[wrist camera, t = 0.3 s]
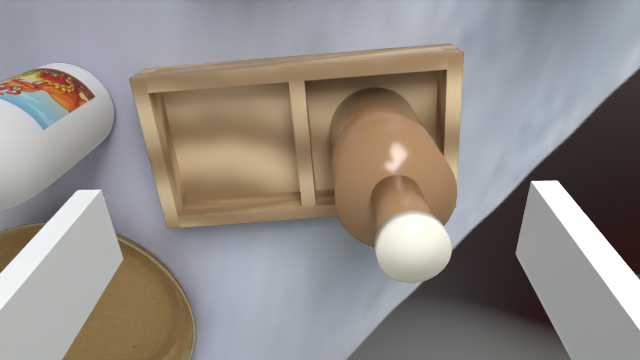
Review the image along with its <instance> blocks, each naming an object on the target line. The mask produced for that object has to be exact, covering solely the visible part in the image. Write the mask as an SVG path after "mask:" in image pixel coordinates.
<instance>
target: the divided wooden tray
mask: <svg viewBox="0 0 640 360" xmlns="http://www.w3.org/2000/svg"><path fill="white" fill-rule="evenodd" d="M463 58H464V52H463V51H461V50H460V49H458V48H456V47H455V46H453V45H451V44H440V45H427V46H415V47H403V48H390V49H378V50H366V51H353V52H341V53H328V54H316V55H304V56H291V57H279V58H267V59H254V60H242V61H230V62H217V63H205V64H192V65H180V66H168V67H155V68H146V69H144V70H143V71H141V72H140V73H138V74H136V75H135V76H133V77H132V78H130V79H129V80H130V84H131V88H132V92H133V96H134V100H135V104H136V108H137V112H138V116H139V120H140V124H141V128H142V132H143V136H144V140H145V143H146V147H147V151H148V155H149V159H150V163H151V167H152V171H153V175H154V179H155V183H156V187H157V191H158V195H159V199H160V203H161V207H162V211H163V215H164V219H165V223H166V227H167V229H168V228H182V227H196V226H210V225H224V224H238V223H252V222H266V221H280V220H294V219H308V218H322V217H336V216H338V213H337V210H336V204H335V192H334V179H333V166H332V153H331V140H330V124H331V120H332V117H333V114H334V112H335V110H336V109H337V107H338V106H339V104H340V103H341V102H342V101H343V100H344V99H345V98H346V97H348V96H349V95H351V94H352V93H354V92H356V91H359V90H361V89H365V88H371V87H380V88H386V89H390V90H392V91H395V92H396V93H398V94H400V95H401V96H402V97H404V98H405V99H406V100H407V102H408V103H409V104H410V106H411V107H412V109H413V110H414V112H415V113H416V115H417V116H418V118H419V119H420V121H421V122H422V124H423V126H424V127H425V129H426V130H427V132H428V133H429V135H430V136H431V138H432V139H433V141H434V142H435V144H436V146H437V147H438V149H439V150H440V152H441V153H442V155H443V156H444V158H445V159H446V161H447V163H448V164H449V166H450V167H451V169H452V171H453V173H454V176H455V179H456V184H457V174H458V155H459V135H460V116H461V97H462V77H463ZM454 208H456V204H455V207H454Z"/></svg>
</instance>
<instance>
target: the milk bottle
mask: <svg viewBox="0 0 640 360" xmlns="http://www.w3.org/2000/svg"><path fill="white" fill-rule="evenodd" d="M113 124H114V106H113V102H112V99H111V96H110V94H109V93H108V91H107V89H106V88H105V86H104V85H103V84H102V83H101V82H100V81H99V80H98V79H97V78H96V77H95V76H94V75H93V74H91V73H89V72H88V71H86V70H84V69H82V68H80V67H78V66H75V65H71V64H66V63H52V64H47V65H44V66H41V67H38V68H35V69H33V70H30V71H27V72H25V73H22V74H19V75H17V76H14V77H11V78H9V79H6V80H4V81H1V82H0V212H2V211H5V210H9V209H11V208H14V207H16V206H19V205H21V204H23V203H25V202H26V201H28V200H30V199H32V198H34V197H35V196H36V195H38V194H39V193H40V192H42V191H43V190H44V189H46V188H47V187H48V186H50V185H51V184H52V183H54V182H55V181H56V180H57V179H58V178H60V177H61V176H62V175H63V174H65V173H66V172H67V171H68V170H70V169H71V168H72V167H73V166H74V165H76V164H77V163H78V162H79V161H80V160H81V159H83V158H84V157H85V156H86V155H87V154H89V153H90V152H91V151H92V150H93V149H95V148H96V147H97V146H98V145H99V144H100V143H101V142H102V141H103V140H104V139H105V138H106V137H107V136H108V135H109V133H110V132H111V130H112V127H113Z"/></svg>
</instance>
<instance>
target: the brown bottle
mask: <svg viewBox="0 0 640 360" xmlns="http://www.w3.org/2000/svg"><path fill="white" fill-rule="evenodd" d="M330 140H331V153H332V166H333V179H334V192H335V204H336V210H337V213H338V216H339V218H340V221H341V223H342V224H343V226H344V227H345V228H346V230H347V231H348V232H349V233H350V234H351V235H352V236H354V237H355V238H356V239H358V240H359V241H361V242H363V243H365V244H367V245H370V246H373V247H375V251H376V255H377V260H378V263H379V266H380V267H381V269H382V270H383V272H384V273H385V274H387V275H388V276H389V277H391V278H392V279H395V280H397V281H400V282H406V283H416V282H422V281H425V280H428V279H430V278H432V277H434V276H435V275H437V274H438V273H440V272H441V271H442V270H443V269H444V267H445V266H446V265H447V263H448V261H449V259H450V256H451V251H452V246H451V241H450V238H449V236H448V234H447V232H446V230H445V228H444V225H445V224H446V222H447V221H448V220H449V218H450V216H451V214H452V212H453V210H454V207H455V204H456V199H457V184H456V179H455V176H454V173H453V171H452V169H451V167H450V166H449V164H448V163H447V161H446V159H445V158H444V156H443V155H442V153H441V152H440V150H439V149H438V147H437V146H436V144H435V142H434V141H433V139H432V138H431V136H430V135H429V133H428V132H427V130H426V129H425V127H424V126H423V124H422V122H421V121H420V119H419V118H418V116H417V115H416V113H415V112H414V110H413V109H412V107H411V106H410V104H409V103H408V102H407V100H406V99H405V98H404V97H402V96H401V95H400V94H398V93H396V92H395V91H392V90H390V89H386V88H380V87H371V88H365V89H361V90H359V91H356V92H354V93H352V94H351V95H349V96H348V97H346V98H345V99H344V100H343V101H342V102H341V103H340V104H339V106H338V107H337V109H336V110H335V112H334V114H333V117H332V120H331V124H330Z"/></svg>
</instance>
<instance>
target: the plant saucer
mask: <svg viewBox="0 0 640 360" xmlns="http://www.w3.org/2000/svg"><path fill="white" fill-rule="evenodd" d="M46 224H47V222H40V223H32V224H27V225H22V226H18V227H14V228H11V229H7V230H5V231H2V232H0V273H1V272H2V271H3V270H4V269H5V268H6V267H7V266H8V265H9V264H10V262H11V261H12V260H13V259H14V258H15V257H16V256H17V255H18V254H19V253H20V252H21V251H22V249H23V248H24V247H25V246H26V245H27V244H28V243H29V242H30V241H31V240H32V239H33V238H34V236H35V235H36V234H37V233H38V232H39V231H40V230H41V229H42V228H43V227H44V226H45V225H46ZM115 234H116V233H115ZM116 237H117V240H118V243H119V246H120V250H121V253H122V256H123V261H122V262H121V264H120V265H119V267H118V269H117V270H116V272H115V274H114V275H113V277H112V279H111V280H110V282H109V284H108V285H107V287H106V288H105V290H104V292H103V293H102V295H101V297H100V298H99V300H98V302H97V303H96V305H95V307H94V308H93V310H92V312H91V313H90V315H89V316H88V318H87V320H86V321H85V323H84V325H83V326H82V328H81V330H80V331H79V333H78V335H77V336H76V338H75V339H74V341H73V343H72V344H71V346H70V348H69V349H68V351H67V353H66V354H65V356H64V358H63V359H62V360H190V359H191V356H192V354H193V350H194V345H195V333H196V332H195V322H194V317H193V313H192V309H191V306H190V303H189V301H188V299H187V297H186V294H185V292H184V290H183V289H182V287H181V285H180V284H179V282H178V281H177V279H176V278H175V277H174V275H173V274H172V273H171V272H170V271H169V270H168V268H167V267H166V266H165V265H164V264H163V263H162V262H161V261H160V260H158V259H157V258H156V257H155V256H154V255H152V254H151V253H150V252H148V251H147V250H146V249H144V248H143V247H141V246H140V245H138V244H136V243H134V242H133V241H131V240H129V239H127V238H125V237H123V236H121V235H118V234H116Z"/></svg>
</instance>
